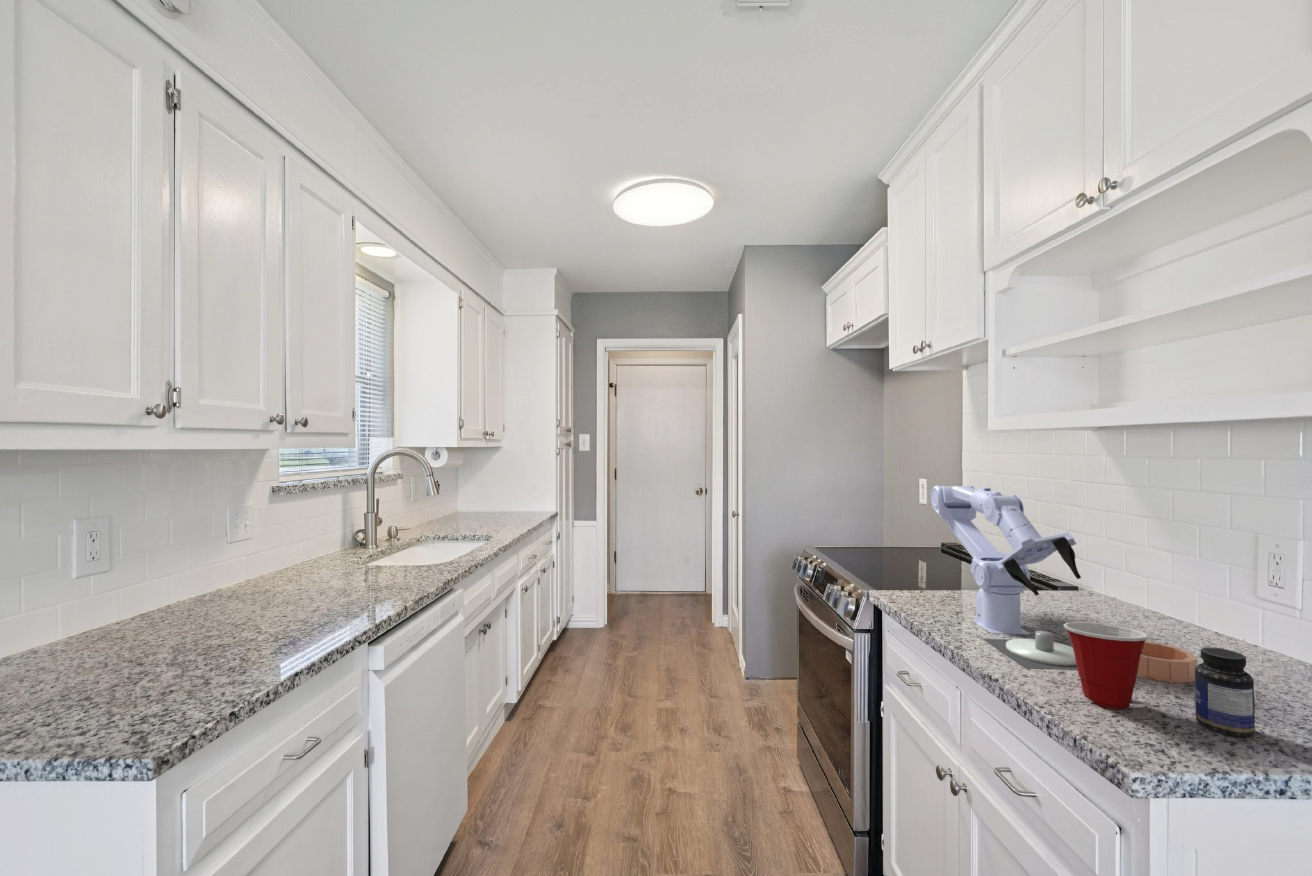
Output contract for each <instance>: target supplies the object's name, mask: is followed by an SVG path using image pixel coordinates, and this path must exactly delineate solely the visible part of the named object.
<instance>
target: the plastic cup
mask: <svg viewBox="0 0 1312 876" xmlns="http://www.w3.org/2000/svg"><path fill="white" fill-rule="evenodd" d="M1063 627H1064V629H1065V630H1066V631H1067V633H1068V636H1069V639H1070V643H1071V646H1073V651H1074V655H1075V660H1076V664H1077V669H1078V670H1077V672H1078V676H1079V679H1080V683H1081V689H1082V693H1083V695H1084V696H1085V698H1086V699H1088V700H1090V703H1091V704H1093V703H1094V705H1096V706H1098V707H1102V706H1103V708H1107V709H1110V710H1111V709H1112V710H1121V709H1123V710H1127V709H1126V708H1128V709H1129V708H1130V705H1131V703H1132V701H1133V700H1132V699H1133V693H1134V689H1135V688H1136V683H1137V677H1138V675H1137V672H1138V667H1139V661H1140V656H1141V654H1142V648H1143V647H1144V643H1145V641H1147V639H1148V638H1149V634H1147V633H1146V632H1144V631H1141V630H1138V629H1135V628H1131V627H1125V626H1121V625H1120V626H1119V625H1114V624H1108V623H1101V622H1099V623H1098V622H1089V621H1088V622H1087V621H1085V622H1084V621H1073V622H1072V621H1071V622H1066V623H1063Z"/></svg>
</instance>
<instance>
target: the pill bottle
mask: <svg viewBox="0 0 1312 876" xmlns="http://www.w3.org/2000/svg"><path fill="white" fill-rule="evenodd" d="M1200 658H1201V659H1202V662H1200V663H1197V666H1196V667H1195V680H1194V687H1195V688H1194V691H1195V692H1194V693H1195V700H1194V702H1195V719H1196V722H1197V723H1198V724H1199V725H1201V726H1202V727H1203V728H1206V729H1207V730H1209V731H1212V732H1215V733H1218V734H1222V735H1226V736H1230V737H1235V738H1251V737H1252V736H1254V734H1255V733H1256V730H1255V729H1256V726H1255V724H1256V723H1255V721H1256V717H1255V713H1256V712H1255V692H1254V691H1255V684H1254V683H1255V680H1254V677H1252V675H1251V674H1250V673H1248V672H1247V671H1245V670H1244V669H1245V667H1246V666H1247V657H1246V656H1245V655H1243V654H1242V653H1240V652H1237V651H1235V650H1230V649H1225V648H1219V647H1210V646H1209V647H1208V646H1206V647H1202V648H1200Z"/></svg>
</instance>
